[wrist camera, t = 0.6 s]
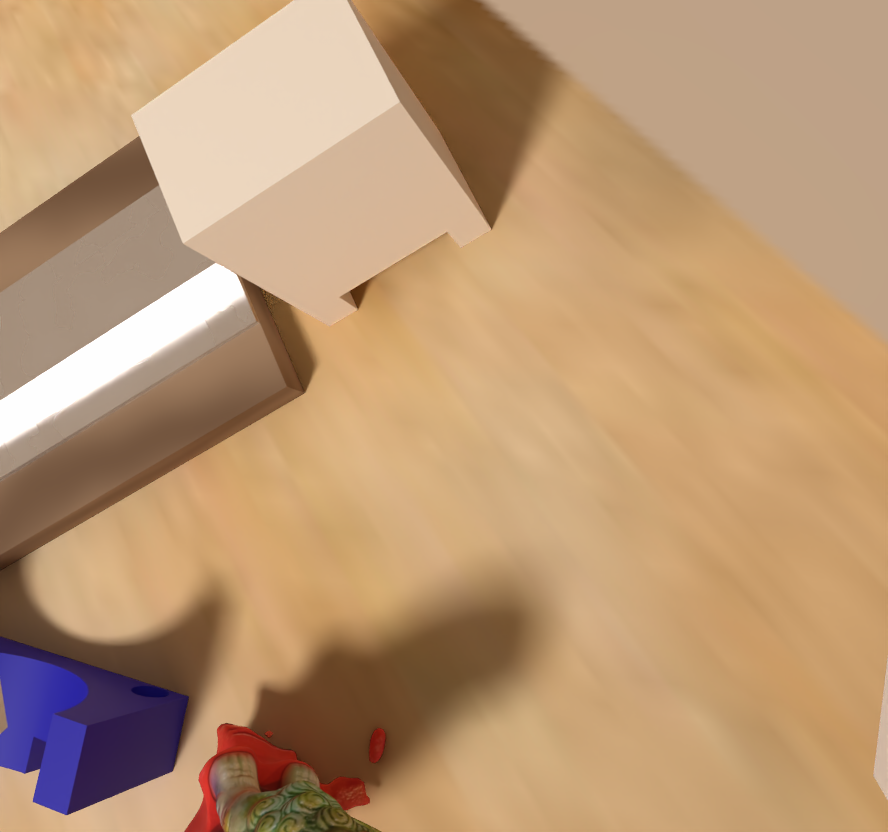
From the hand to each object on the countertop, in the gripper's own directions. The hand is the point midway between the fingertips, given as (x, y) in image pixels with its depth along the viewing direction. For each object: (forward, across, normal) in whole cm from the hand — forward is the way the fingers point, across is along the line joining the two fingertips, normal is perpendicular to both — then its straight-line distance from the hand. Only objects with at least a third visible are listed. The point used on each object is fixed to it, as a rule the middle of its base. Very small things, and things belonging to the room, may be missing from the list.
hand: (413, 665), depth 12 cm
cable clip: (+19, +18, +14) cm, 30 cm away
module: (+24, +5, -6) cm, 25 cm away
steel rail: (+23, +19, -1) cm, 30 cm away
